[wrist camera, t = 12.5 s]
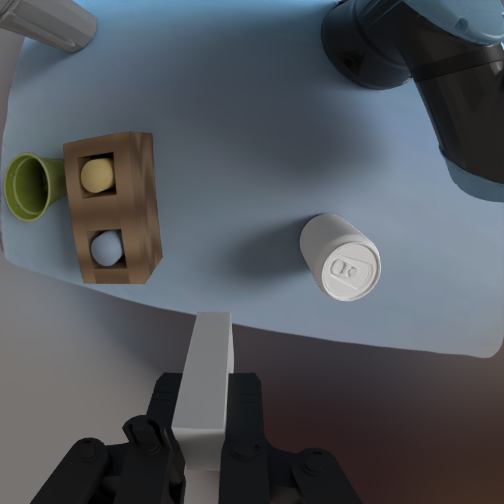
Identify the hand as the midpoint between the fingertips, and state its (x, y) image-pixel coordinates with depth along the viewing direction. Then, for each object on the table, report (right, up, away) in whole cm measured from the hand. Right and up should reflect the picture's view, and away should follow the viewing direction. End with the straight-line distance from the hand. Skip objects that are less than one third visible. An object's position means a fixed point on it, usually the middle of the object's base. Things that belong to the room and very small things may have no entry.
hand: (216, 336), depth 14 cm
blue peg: (-16, +7, +27) cm, 32 cm away
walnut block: (-16, +11, +27) cm, 33 cm away
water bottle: (-24, +37, +17) cm, 47 cm away
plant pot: (-29, +15, +25) cm, 41 cm away
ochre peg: (-16, +15, +24) cm, 33 cm away
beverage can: (+12, +6, +30) cm, 33 cm away
